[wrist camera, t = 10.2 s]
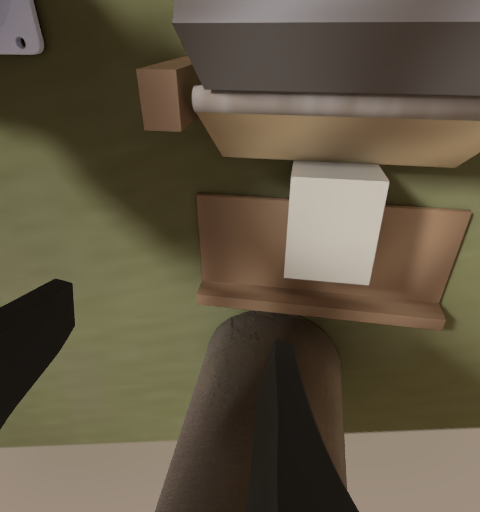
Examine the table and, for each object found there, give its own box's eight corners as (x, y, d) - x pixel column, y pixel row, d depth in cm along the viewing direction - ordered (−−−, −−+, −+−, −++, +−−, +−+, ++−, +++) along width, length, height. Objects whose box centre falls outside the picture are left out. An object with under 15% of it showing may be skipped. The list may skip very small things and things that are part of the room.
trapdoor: (227, 102, 19) (222, 157, 19) (162, -71, 9) (151, 40, 9) (459, 108, 17) (455, 168, 17) (665, -92, 8) (656, 42, 8)
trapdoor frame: (204, 287, 25) (175, 356, 20) (187, 54, 18) (136, 69, 12) (433, 310, 23) (468, 394, 18) (524, 57, 16) (630, 76, 10)
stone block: (294, 155, 19) (288, 242, 22) (290, 176, 16) (283, 277, 18) (374, 159, 19) (359, 248, 21) (389, 181, 15) (368, 285, 17)
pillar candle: (250, 285, 24) (178, 566, 12) (369, 354, 26) (417, 670, 13) (188, 363, 30) (94, 613, 17) (290, 416, 31) (271, 684, 19)
